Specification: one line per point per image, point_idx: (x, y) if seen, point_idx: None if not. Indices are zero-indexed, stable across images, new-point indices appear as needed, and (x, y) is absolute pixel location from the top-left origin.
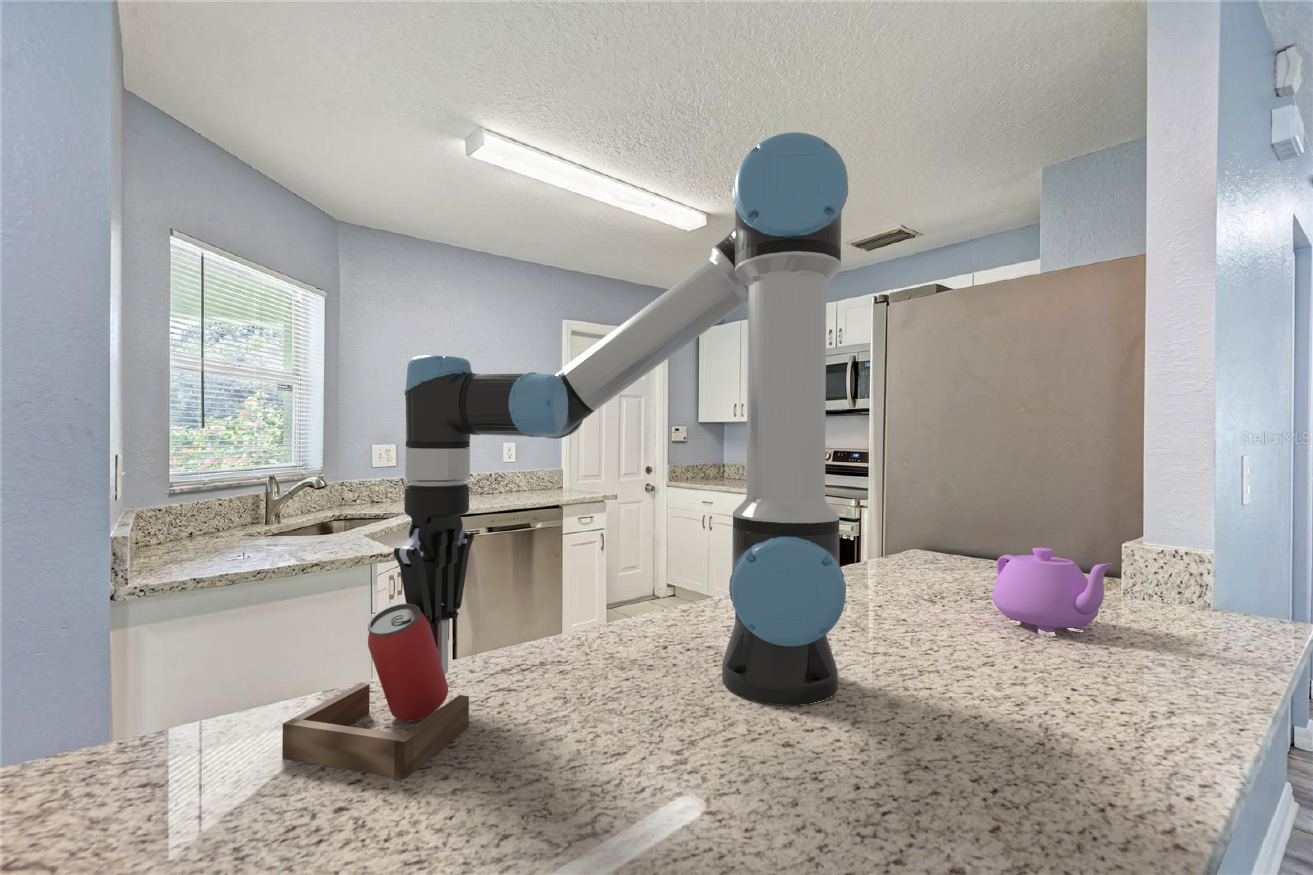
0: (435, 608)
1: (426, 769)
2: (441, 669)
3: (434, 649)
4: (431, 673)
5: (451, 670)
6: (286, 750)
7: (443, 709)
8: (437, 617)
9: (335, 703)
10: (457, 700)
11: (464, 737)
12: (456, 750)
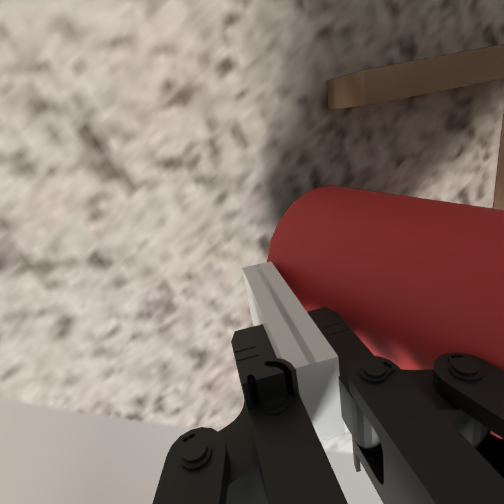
0: (442, 414)
1: (496, 29)
2: (353, 215)
3: (444, 229)
4: (417, 198)
5: (94, 367)
6: None
7: (454, 74)
8: (387, 377)
9: None
10: (399, 80)
11: (366, 54)
12: (420, 25)
